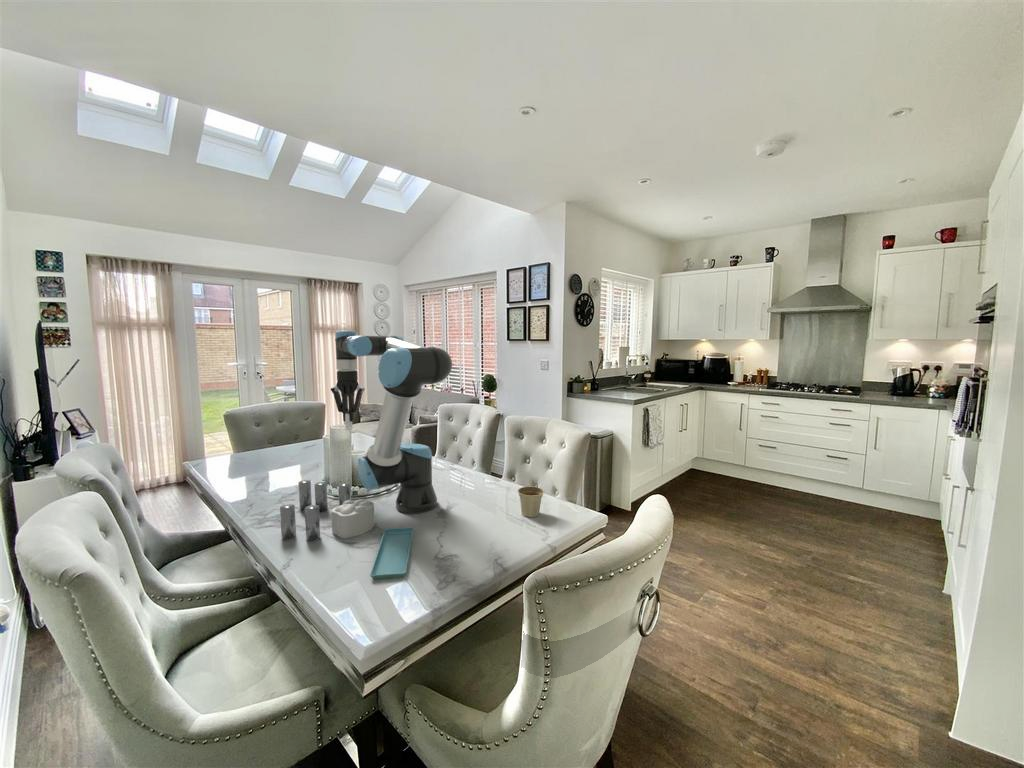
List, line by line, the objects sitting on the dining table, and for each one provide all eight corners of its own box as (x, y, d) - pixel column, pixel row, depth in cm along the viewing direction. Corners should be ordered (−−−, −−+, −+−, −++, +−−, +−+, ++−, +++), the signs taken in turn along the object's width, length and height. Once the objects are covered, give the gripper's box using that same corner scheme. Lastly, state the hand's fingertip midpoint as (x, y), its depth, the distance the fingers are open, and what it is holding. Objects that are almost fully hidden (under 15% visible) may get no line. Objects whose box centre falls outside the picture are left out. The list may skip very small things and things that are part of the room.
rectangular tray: (406, 580, 108) (406, 571, 107) (369, 583, 106) (369, 574, 106) (414, 534, 133) (414, 527, 133) (384, 536, 132) (384, 528, 132)
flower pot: (549, 513, 148) (549, 490, 148) (532, 522, 142) (532, 497, 141) (529, 506, 155) (529, 484, 154) (512, 514, 148) (512, 490, 147)
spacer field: (355, 507, 153) (354, 481, 152) (315, 541, 127) (314, 510, 126) (303, 505, 155) (302, 479, 154) (254, 538, 129) (252, 507, 128)
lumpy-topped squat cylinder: (328, 530, 135) (327, 505, 134) (364, 517, 145) (363, 493, 144) (345, 540, 128) (344, 513, 128) (381, 525, 139) (381, 500, 138)
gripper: (367, 369, 166) (368, 427, 168) (335, 369, 166) (337, 427, 169) (359, 371, 158) (360, 431, 161) (326, 370, 159) (328, 431, 162)
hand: (349, 429), depth 165 cm, fingers closed
